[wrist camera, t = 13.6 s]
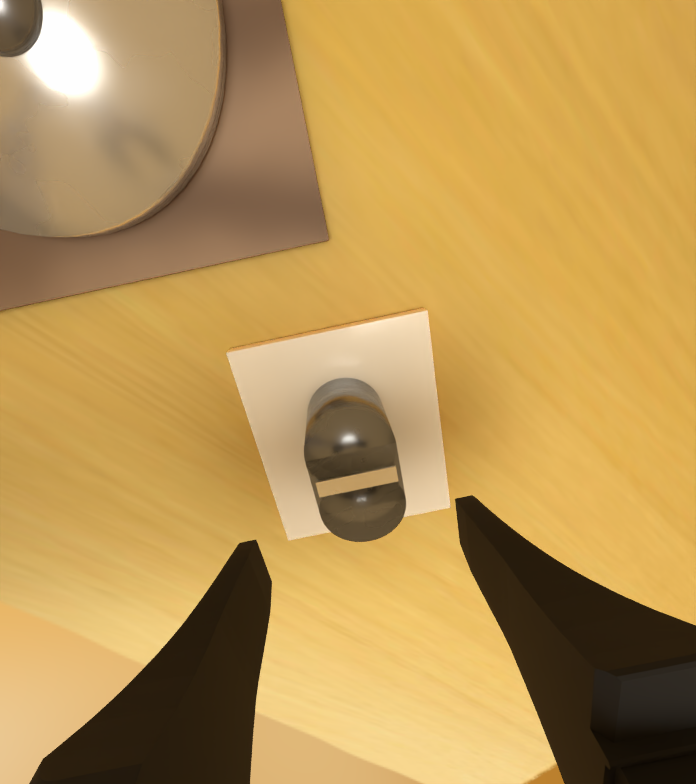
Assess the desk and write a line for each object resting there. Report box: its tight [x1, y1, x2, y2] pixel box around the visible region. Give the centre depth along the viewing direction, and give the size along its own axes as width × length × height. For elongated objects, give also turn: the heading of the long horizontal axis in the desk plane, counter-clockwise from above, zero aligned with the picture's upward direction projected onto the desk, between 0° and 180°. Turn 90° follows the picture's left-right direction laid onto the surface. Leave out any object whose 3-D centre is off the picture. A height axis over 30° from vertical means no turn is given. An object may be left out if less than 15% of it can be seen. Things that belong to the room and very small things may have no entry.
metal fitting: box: [304, 378, 406, 542], centre depth 18 cm, size 7×4×4 cm, turn 11°
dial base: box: [0, 0, 329, 311], centre depth 13 cm, size 18×18×2 cm
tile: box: [226, 308, 451, 541], centre depth 21 cm, size 12×10×1 cm
